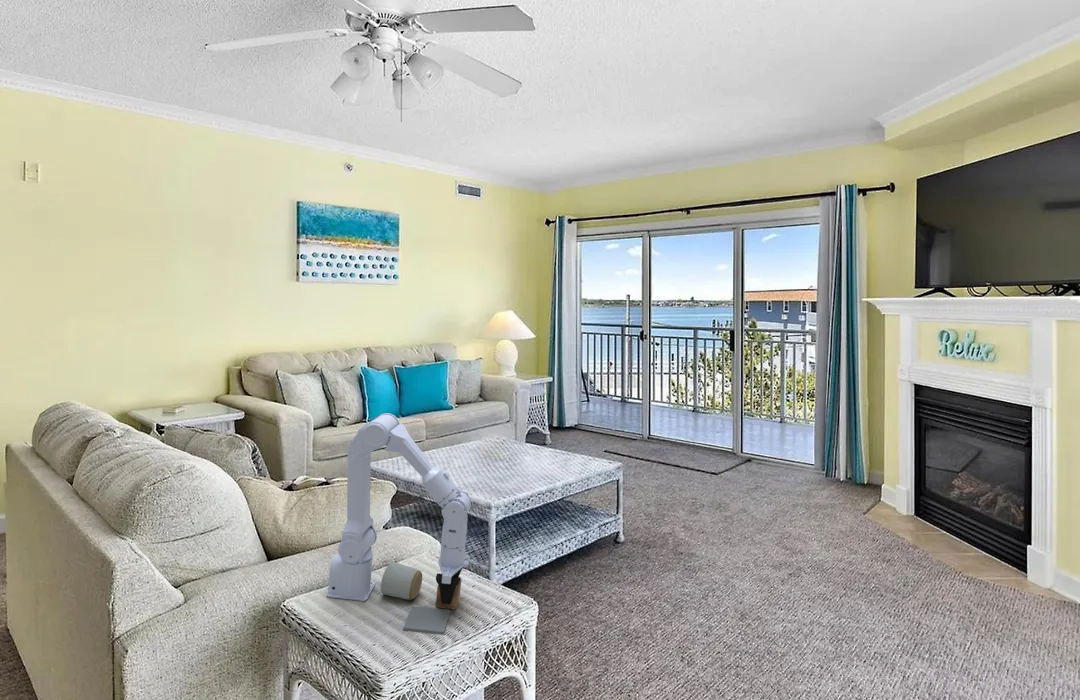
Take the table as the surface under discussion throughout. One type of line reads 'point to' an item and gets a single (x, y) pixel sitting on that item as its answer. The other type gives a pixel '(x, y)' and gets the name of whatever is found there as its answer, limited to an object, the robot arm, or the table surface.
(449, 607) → the letter cube
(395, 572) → the ceramic mug
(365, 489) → the robot arm
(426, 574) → the table surface
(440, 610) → the slate mat
